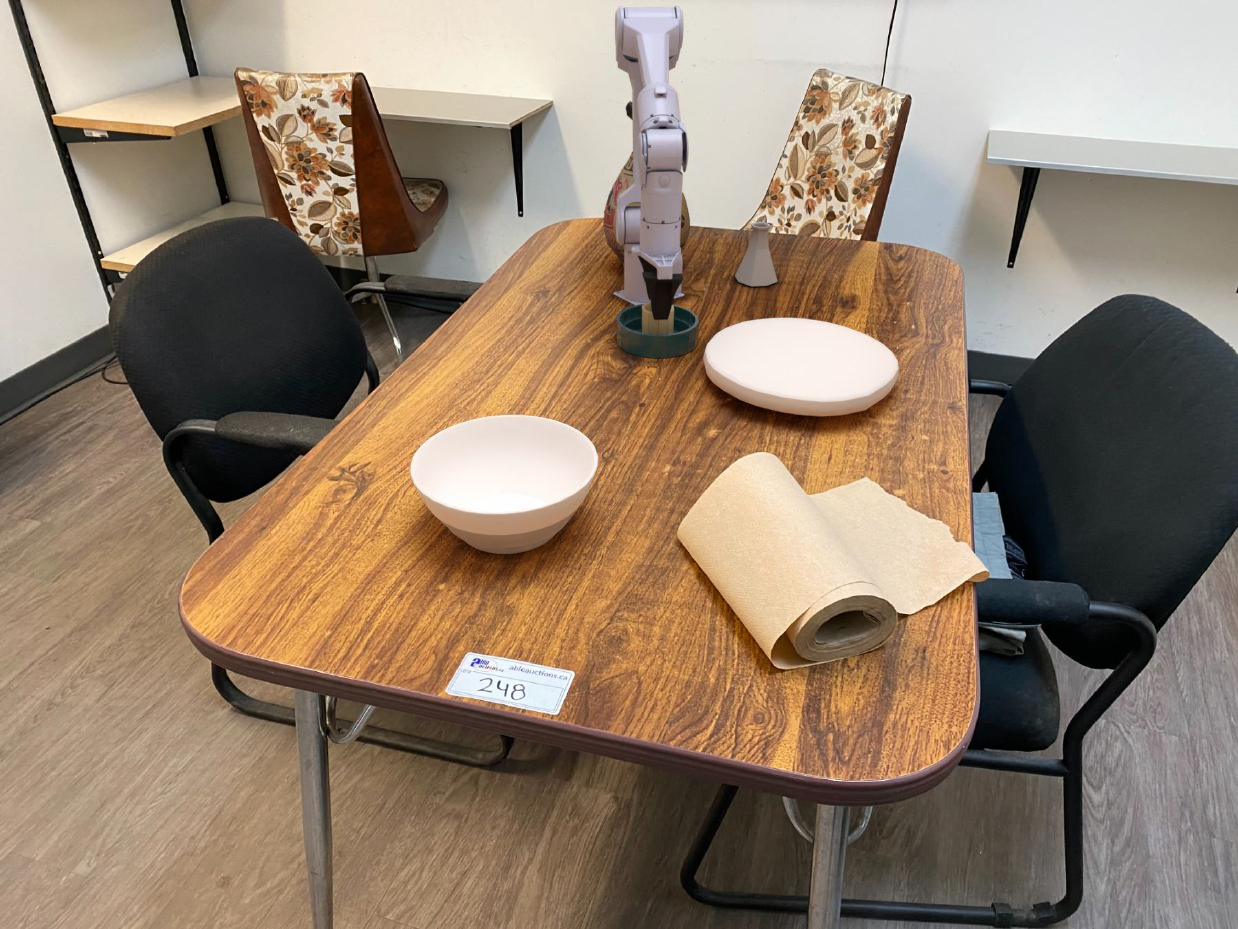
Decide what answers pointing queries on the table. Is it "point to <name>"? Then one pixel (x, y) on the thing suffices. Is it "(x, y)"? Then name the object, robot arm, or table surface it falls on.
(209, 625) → the table surface
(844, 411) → the plate
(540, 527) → the bowl
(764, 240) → the flask
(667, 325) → the cup
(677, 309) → the teal bowl
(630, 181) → the ceramic jug
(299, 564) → the table surface
